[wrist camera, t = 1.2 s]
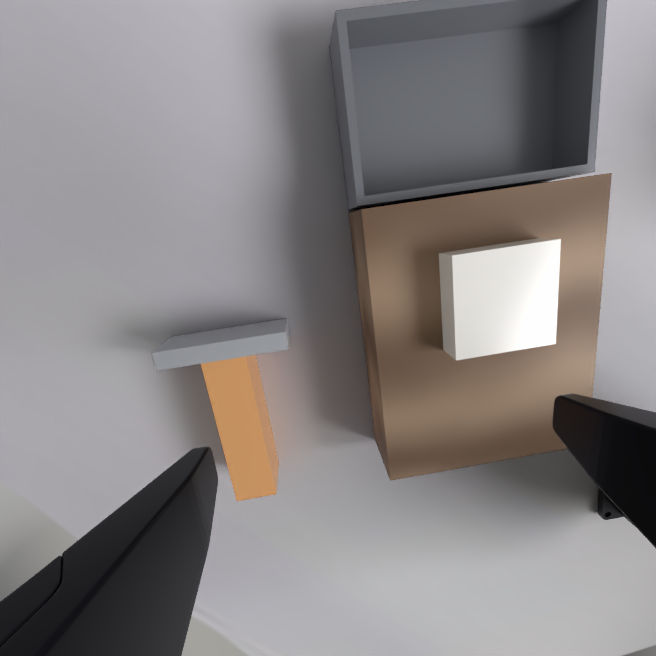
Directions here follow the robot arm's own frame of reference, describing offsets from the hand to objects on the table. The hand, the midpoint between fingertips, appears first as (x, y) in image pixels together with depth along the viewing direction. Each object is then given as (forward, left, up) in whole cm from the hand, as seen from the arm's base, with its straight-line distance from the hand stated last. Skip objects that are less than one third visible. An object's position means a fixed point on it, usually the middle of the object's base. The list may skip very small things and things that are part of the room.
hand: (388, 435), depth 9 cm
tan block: (-2, -8, -13) cm, 15 cm away
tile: (+1, -8, -9) cm, 12 cm away
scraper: (-5, +6, -13) cm, 15 cm away
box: (+10, -8, -13) cm, 18 cm away
